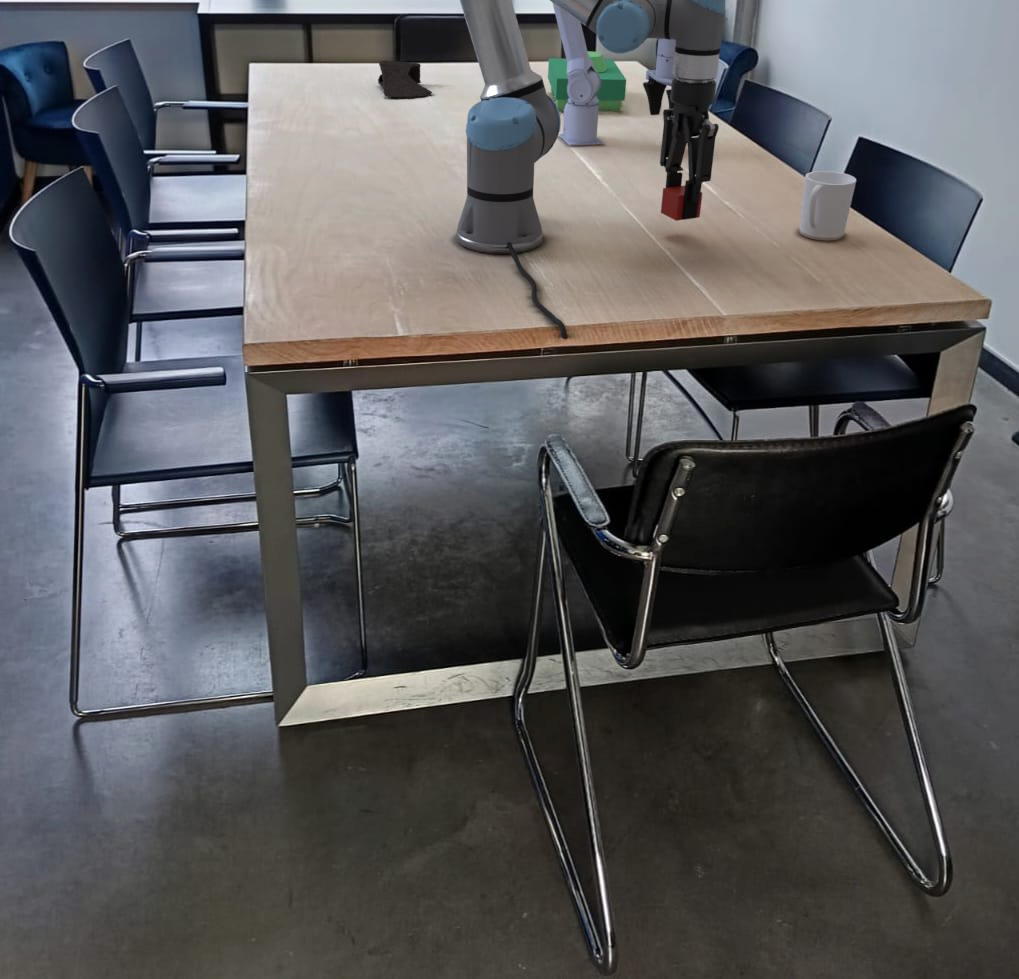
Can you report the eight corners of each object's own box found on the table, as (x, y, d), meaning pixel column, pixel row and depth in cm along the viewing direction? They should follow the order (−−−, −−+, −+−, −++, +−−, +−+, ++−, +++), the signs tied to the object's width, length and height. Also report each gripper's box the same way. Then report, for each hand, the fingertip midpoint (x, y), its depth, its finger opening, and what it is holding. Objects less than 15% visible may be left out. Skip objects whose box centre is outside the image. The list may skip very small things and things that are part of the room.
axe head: (443, 87, 294) (392, 77, 287) (436, 115, 299) (385, 106, 292) (421, 62, 307) (371, 52, 300) (414, 89, 311) (365, 80, 304)
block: (699, 217, 197) (702, 192, 194) (675, 220, 195) (678, 195, 192) (684, 209, 201) (686, 185, 198) (660, 212, 199) (663, 188, 196)
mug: (809, 222, 208) (818, 168, 202) (854, 233, 203) (864, 177, 197) (782, 236, 200) (791, 180, 195) (827, 247, 195) (838, 190, 190)
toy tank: (610, 40, 305) (627, 64, 275) (607, 86, 311) (623, 114, 282) (547, 38, 304) (557, 62, 274) (545, 84, 310) (555, 113, 281)
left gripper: (744, 87, 180) (726, 225, 192) (683, 67, 194) (669, 197, 206) (707, 91, 177) (691, 231, 189) (647, 70, 191) (636, 202, 203)
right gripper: (704, 59, 239) (697, 123, 246) (666, 48, 250) (660, 109, 257) (677, 61, 236) (671, 126, 243) (640, 50, 247) (635, 112, 254)
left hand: (680, 213), depth 198 cm, fingers closed on block, 5 cm apart
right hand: (664, 118), depth 250 cm, fingers open, 7 cm apart
